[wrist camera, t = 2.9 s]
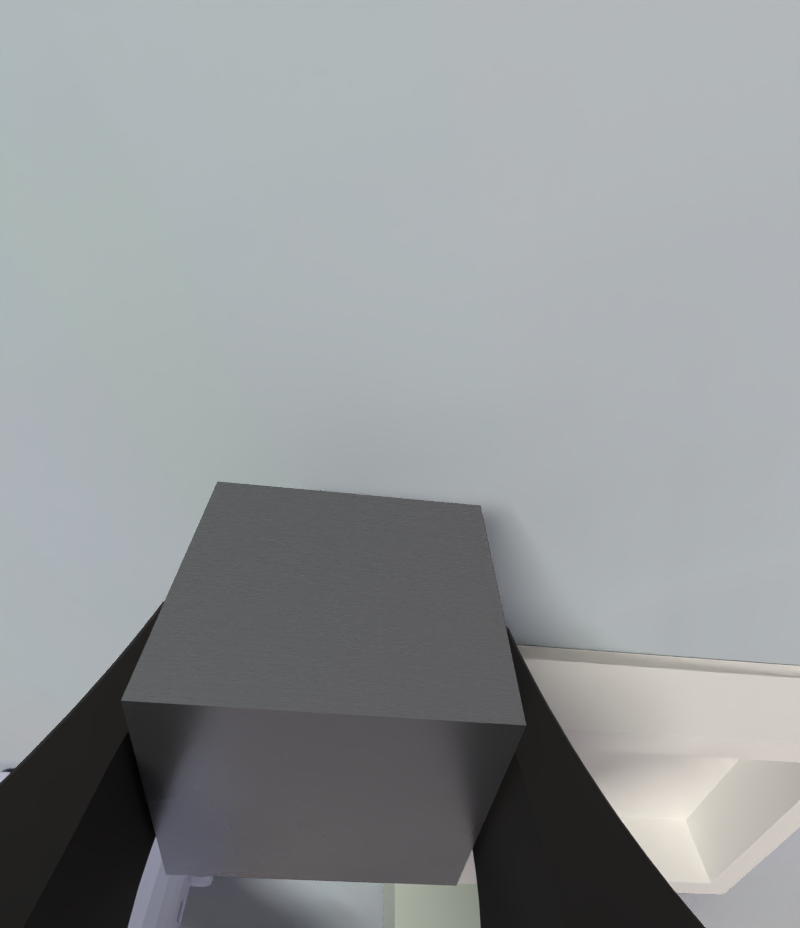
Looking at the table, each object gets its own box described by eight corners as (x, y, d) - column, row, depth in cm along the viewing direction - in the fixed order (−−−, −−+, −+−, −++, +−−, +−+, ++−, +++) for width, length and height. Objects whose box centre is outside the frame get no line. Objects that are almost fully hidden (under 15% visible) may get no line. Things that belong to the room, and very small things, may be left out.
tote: (693, 819, 25) (723, 894, 23) (451, 807, 24) (457, 883, 22) (827, 667, 19) (887, 749, 17) (510, 644, 18) (526, 726, 16)
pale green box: (476, 886, 30) (486, 973, 27) (383, 883, 29) (381, 970, 26) (498, 845, 27) (510, 937, 24) (394, 840, 27) (394, 933, 24)
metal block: (438, 666, 14) (456, 885, 10) (229, 652, 13) (165, 874, 10) (480, 505, 11) (526, 725, 7) (217, 481, 10) (121, 700, 7)
